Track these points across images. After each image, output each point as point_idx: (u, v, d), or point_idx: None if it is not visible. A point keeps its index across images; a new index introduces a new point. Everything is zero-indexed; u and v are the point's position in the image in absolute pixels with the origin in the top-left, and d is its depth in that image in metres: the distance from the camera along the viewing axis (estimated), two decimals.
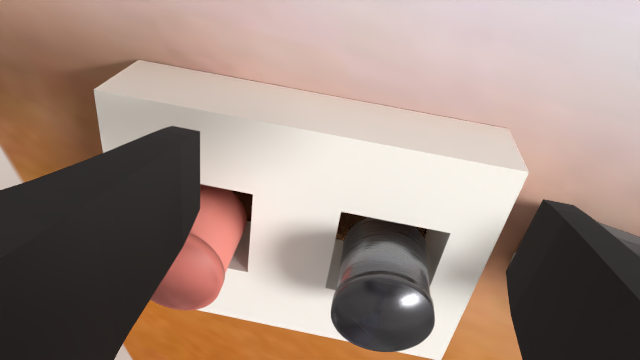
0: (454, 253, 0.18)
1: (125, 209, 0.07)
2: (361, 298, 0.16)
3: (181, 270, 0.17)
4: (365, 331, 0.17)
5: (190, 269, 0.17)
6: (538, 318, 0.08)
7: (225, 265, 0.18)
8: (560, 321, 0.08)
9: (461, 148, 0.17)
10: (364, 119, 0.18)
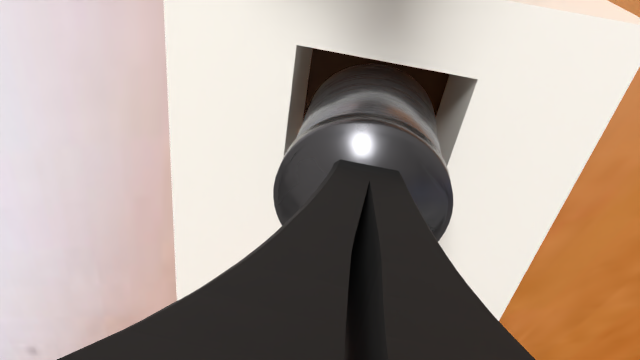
0: (339, 33, 0.11)
1: None
2: None
3: None
4: None
5: None
6: (351, 279, 0.08)
7: None
8: (357, 279, 0.08)
9: None
10: None
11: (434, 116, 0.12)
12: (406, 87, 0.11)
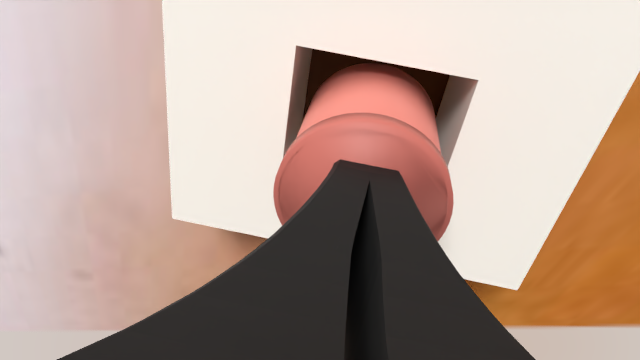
0: None
1: None
2: None
3: None
4: None
5: None
6: (352, 279, 0.08)
7: (374, 110, 0.09)
8: (357, 279, 0.08)
9: None
10: None
11: None
12: None
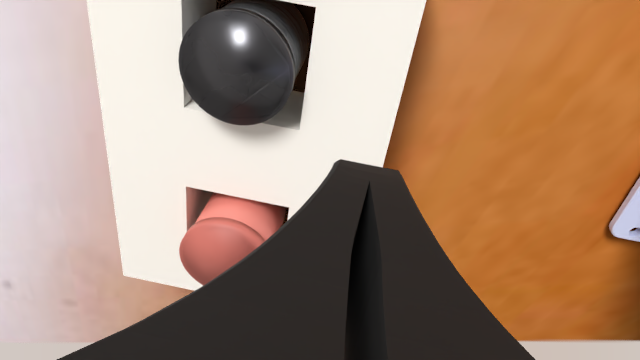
0: None
1: None
2: (210, 93, 0.15)
3: (215, 252, 0.18)
4: (261, 89, 0.15)
5: (212, 245, 0.18)
6: (352, 279, 0.08)
7: (228, 213, 0.18)
8: (357, 279, 0.08)
9: None
10: None
11: (302, 27, 0.17)
12: (277, 3, 0.16)
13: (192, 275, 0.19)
